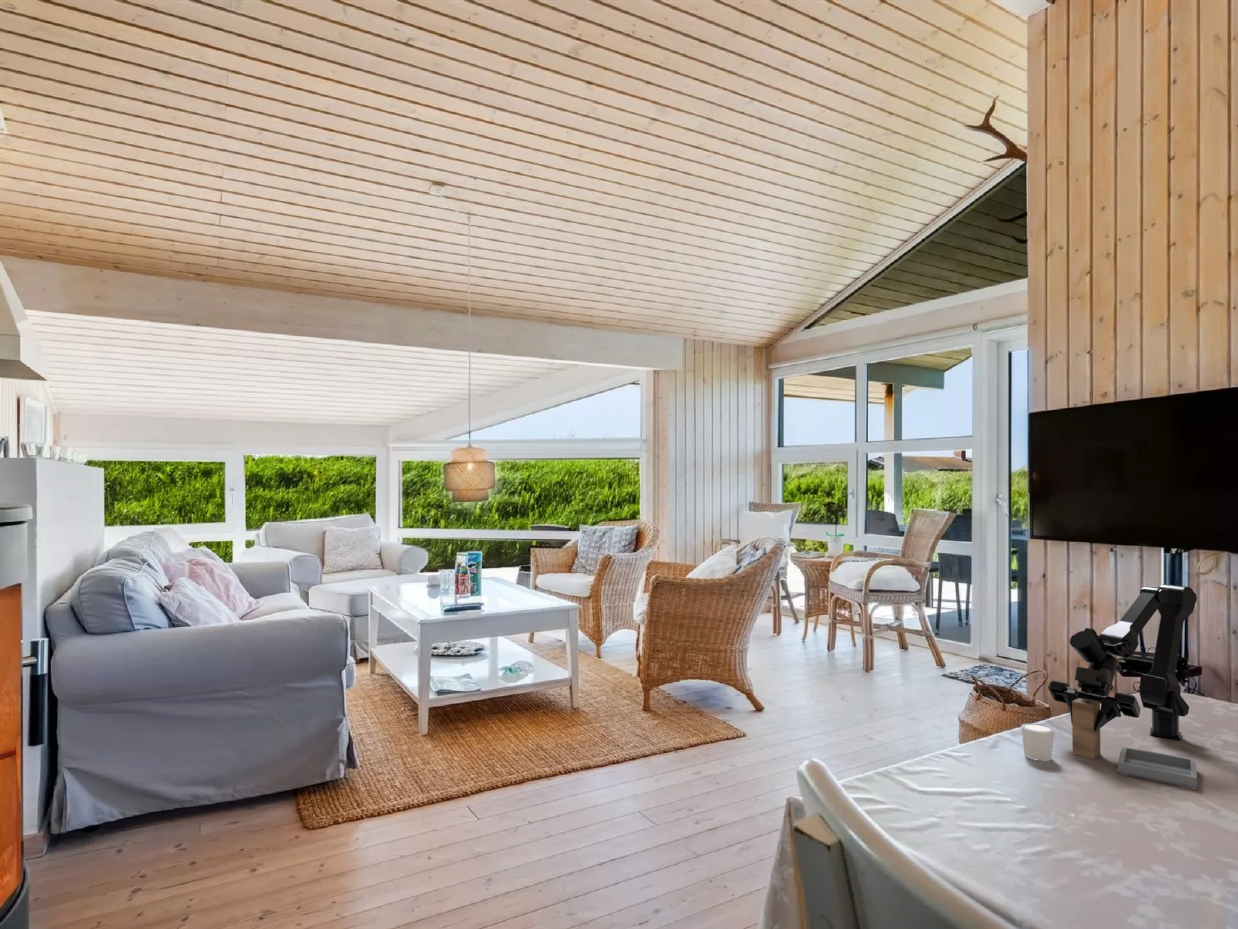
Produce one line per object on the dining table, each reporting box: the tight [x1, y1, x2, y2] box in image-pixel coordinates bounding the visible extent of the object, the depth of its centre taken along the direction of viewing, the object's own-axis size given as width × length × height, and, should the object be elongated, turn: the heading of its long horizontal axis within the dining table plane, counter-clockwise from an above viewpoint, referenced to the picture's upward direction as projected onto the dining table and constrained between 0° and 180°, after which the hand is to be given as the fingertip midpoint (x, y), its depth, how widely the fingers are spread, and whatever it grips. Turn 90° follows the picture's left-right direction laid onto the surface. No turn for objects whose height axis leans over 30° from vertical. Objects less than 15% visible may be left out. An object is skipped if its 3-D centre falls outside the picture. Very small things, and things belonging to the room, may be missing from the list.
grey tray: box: [1117, 745, 1198, 790], centre depth 168 cm, size 14×14×2 cm
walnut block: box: [1071, 698, 1101, 759], centre depth 180 cm, size 4×4×13 cm
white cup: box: [1020, 723, 1055, 762], centre depth 178 cm, size 7×7×7 cm
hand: (1083, 727), depth 179 cm, fingers closed on walnut block, 4 cm apart
